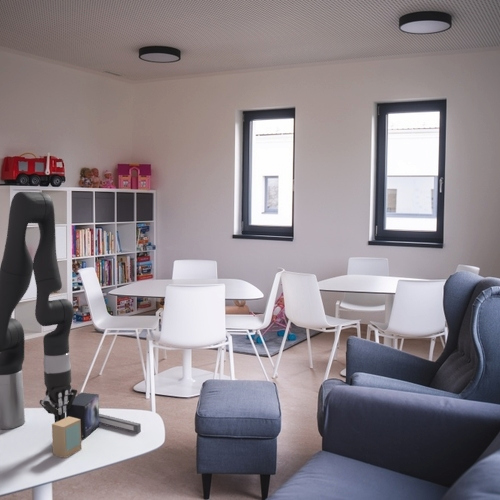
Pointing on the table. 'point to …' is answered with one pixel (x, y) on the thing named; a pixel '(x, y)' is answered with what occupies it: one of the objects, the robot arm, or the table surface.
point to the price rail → (119, 423)
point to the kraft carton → (66, 437)
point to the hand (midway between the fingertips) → (60, 425)
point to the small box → (85, 412)
